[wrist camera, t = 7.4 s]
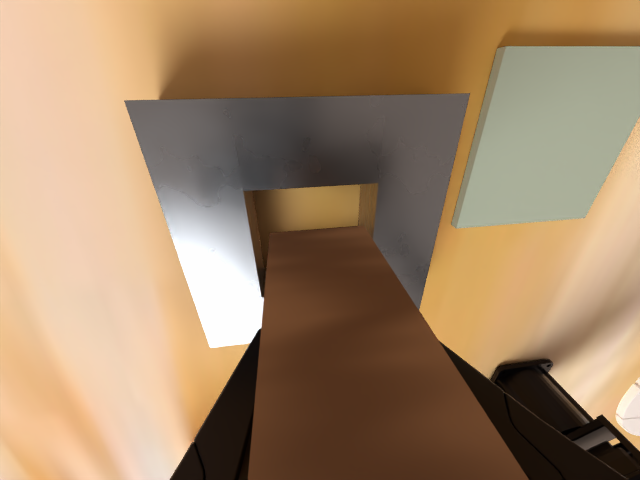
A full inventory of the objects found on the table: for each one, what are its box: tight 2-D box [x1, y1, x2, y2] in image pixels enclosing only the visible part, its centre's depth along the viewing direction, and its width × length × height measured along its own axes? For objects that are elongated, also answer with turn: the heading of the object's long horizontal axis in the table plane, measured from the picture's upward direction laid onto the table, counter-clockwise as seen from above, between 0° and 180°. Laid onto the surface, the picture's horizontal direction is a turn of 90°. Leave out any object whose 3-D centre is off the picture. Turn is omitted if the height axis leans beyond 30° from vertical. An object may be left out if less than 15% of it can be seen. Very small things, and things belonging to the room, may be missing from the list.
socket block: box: [125, 93, 470, 348], centre depth 15 cm, size 14×14×3 cm
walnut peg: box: [248, 226, 529, 480], centre depth 7 cm, size 4×4×10 cm
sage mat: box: [451, 46, 640, 228], centre depth 16 cm, size 10×10×1 cm
